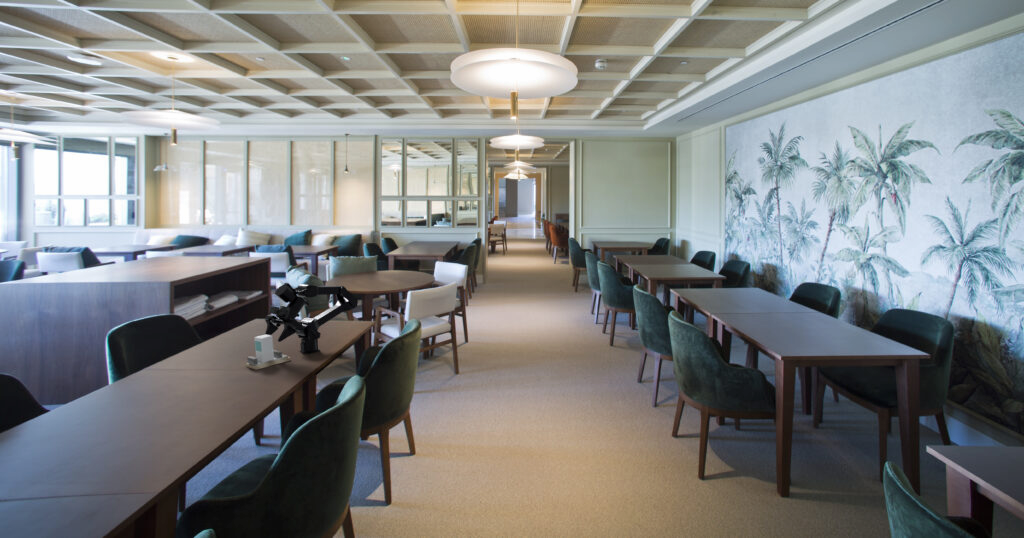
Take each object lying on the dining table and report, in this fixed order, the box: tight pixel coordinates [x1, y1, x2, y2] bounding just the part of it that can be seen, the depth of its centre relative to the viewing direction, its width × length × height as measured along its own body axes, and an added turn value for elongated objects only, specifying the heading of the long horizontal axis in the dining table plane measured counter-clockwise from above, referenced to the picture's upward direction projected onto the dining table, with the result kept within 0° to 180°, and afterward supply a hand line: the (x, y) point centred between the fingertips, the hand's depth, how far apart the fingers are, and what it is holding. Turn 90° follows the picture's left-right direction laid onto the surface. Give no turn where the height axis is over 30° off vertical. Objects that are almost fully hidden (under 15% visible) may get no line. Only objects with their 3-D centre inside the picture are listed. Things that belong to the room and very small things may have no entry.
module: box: [254, 333, 275, 362], centre depth 211 cm, size 5×4×10 cm
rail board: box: [245, 349, 291, 370], centre depth 213 cm, size 15×8×4 cm, turn 145°
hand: (271, 340), depth 214 cm, fingers open, 9 cm apart
